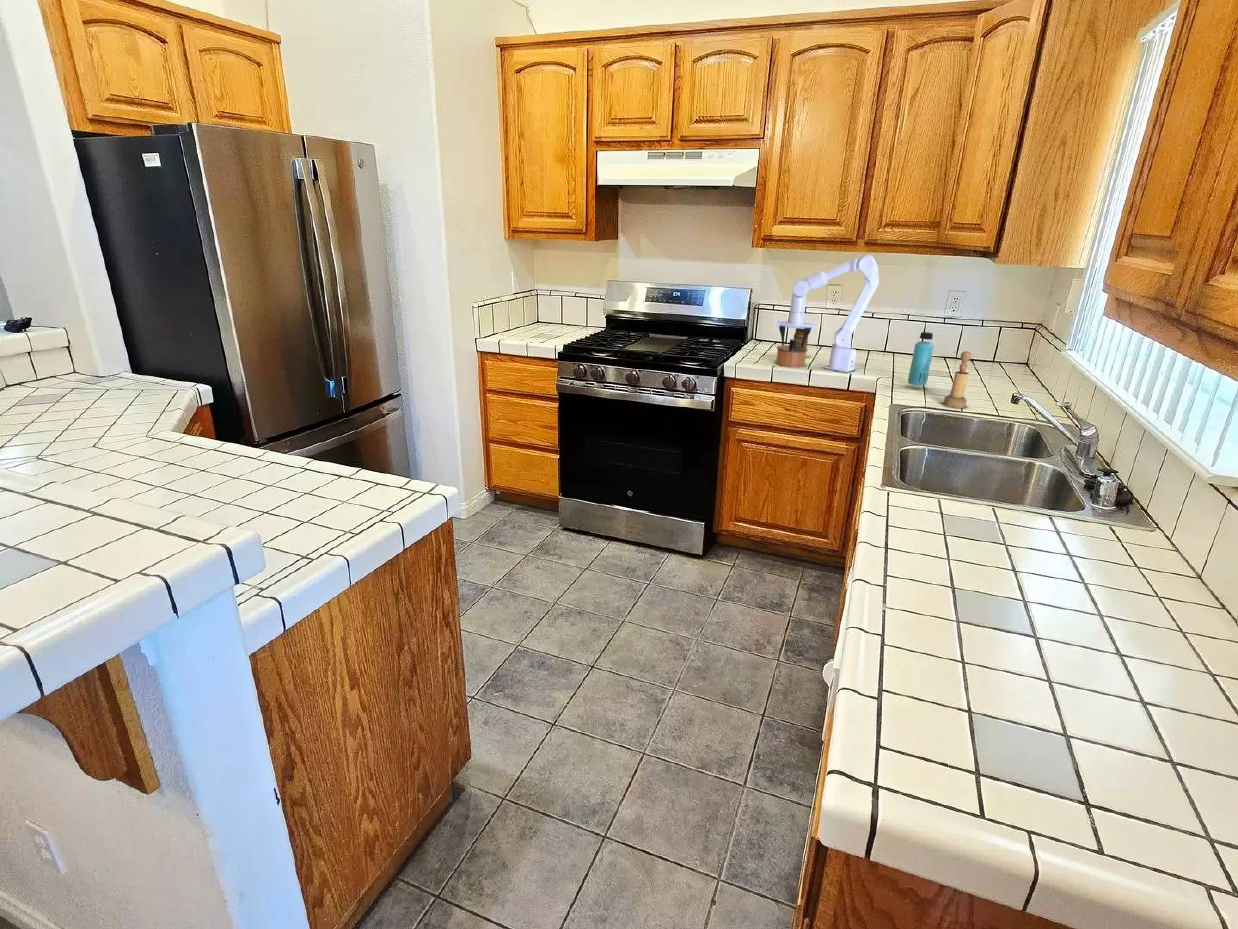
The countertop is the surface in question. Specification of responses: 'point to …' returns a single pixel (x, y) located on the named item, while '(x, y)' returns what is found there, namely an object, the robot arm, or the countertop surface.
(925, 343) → the beverage bottle
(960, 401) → the mortar and pestle
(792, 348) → the pot lid
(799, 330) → the condiment
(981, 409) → the countertop surface
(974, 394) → the countertop surface
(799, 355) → the terracotta bowl
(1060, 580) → the countertop surface
